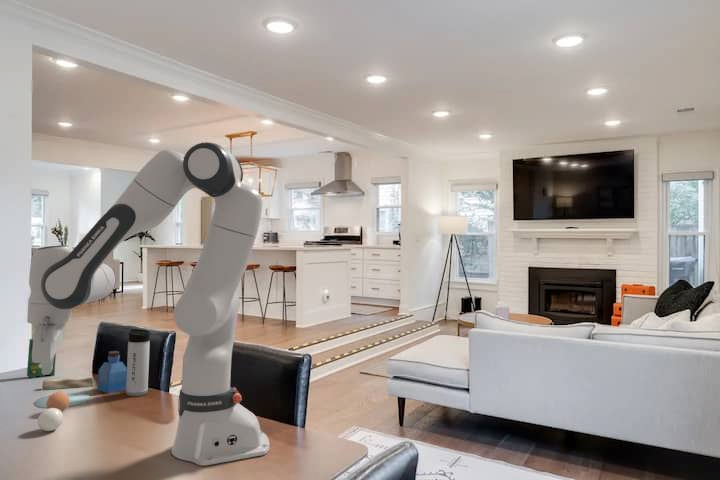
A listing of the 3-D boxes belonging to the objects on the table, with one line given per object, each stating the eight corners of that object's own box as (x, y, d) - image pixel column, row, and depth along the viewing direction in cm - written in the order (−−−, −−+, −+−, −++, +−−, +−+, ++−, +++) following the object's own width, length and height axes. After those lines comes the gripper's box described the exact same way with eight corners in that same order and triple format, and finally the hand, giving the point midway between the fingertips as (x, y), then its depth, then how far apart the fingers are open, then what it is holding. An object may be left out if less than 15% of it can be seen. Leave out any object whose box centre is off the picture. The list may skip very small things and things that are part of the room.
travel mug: (140, 389, 162) (142, 327, 162) (151, 393, 158) (154, 330, 158) (121, 393, 157) (124, 329, 157) (132, 397, 153) (135, 332, 153)
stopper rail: (92, 384, 164) (93, 377, 164) (92, 386, 163) (92, 378, 163) (43, 388, 158) (43, 380, 158) (42, 389, 157) (42, 381, 157)
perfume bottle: (127, 389, 161) (128, 352, 161) (108, 393, 156) (110, 355, 156) (115, 385, 165) (117, 349, 165) (97, 389, 160) (99, 352, 160)
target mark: (93, 392, 157) (93, 391, 157) (84, 406, 143) (84, 405, 143) (42, 394, 152) (42, 393, 152) (28, 409, 139) (28, 408, 139)
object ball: (71, 408, 141) (71, 389, 141) (66, 415, 136) (67, 394, 136) (48, 409, 140) (49, 390, 140) (43, 416, 134) (44, 396, 134)
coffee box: (54, 373, 175) (55, 336, 175) (55, 375, 173) (57, 337, 173) (26, 376, 170) (28, 338, 170) (27, 378, 168) (29, 340, 168)
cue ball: (65, 425, 129) (66, 404, 129) (59, 433, 123) (60, 411, 124) (40, 427, 127) (41, 405, 127) (34, 435, 122) (35, 413, 122)
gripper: (59, 320, 109) (56, 384, 109) (70, 308, 127) (67, 362, 127) (25, 321, 106) (22, 386, 106) (41, 308, 125) (38, 363, 124)
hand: (47, 373), depth 117 cm, fingers closed
